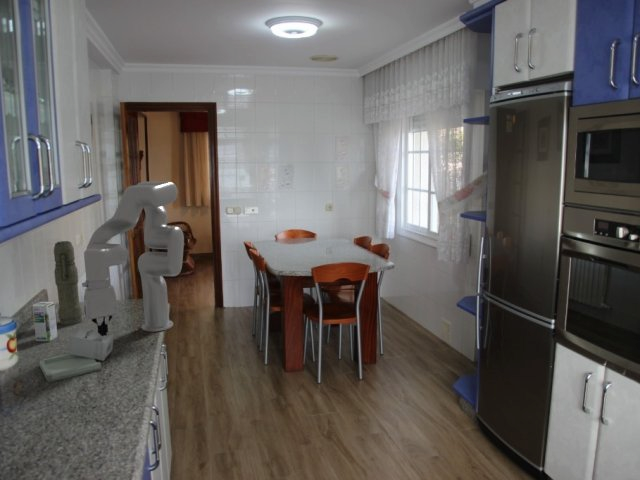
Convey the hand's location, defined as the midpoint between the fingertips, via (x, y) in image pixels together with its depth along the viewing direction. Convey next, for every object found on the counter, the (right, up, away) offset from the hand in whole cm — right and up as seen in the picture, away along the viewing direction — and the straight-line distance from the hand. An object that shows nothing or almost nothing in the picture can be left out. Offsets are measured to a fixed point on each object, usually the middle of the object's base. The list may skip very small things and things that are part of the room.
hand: (103, 334), depth 180 cm
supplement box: (+1, -5, +3) cm, 6 cm away
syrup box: (-32, -6, +23) cm, 39 cm away
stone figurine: (-32, -2, +42) cm, 53 cm away
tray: (-9, -10, -5) cm, 15 cm away
